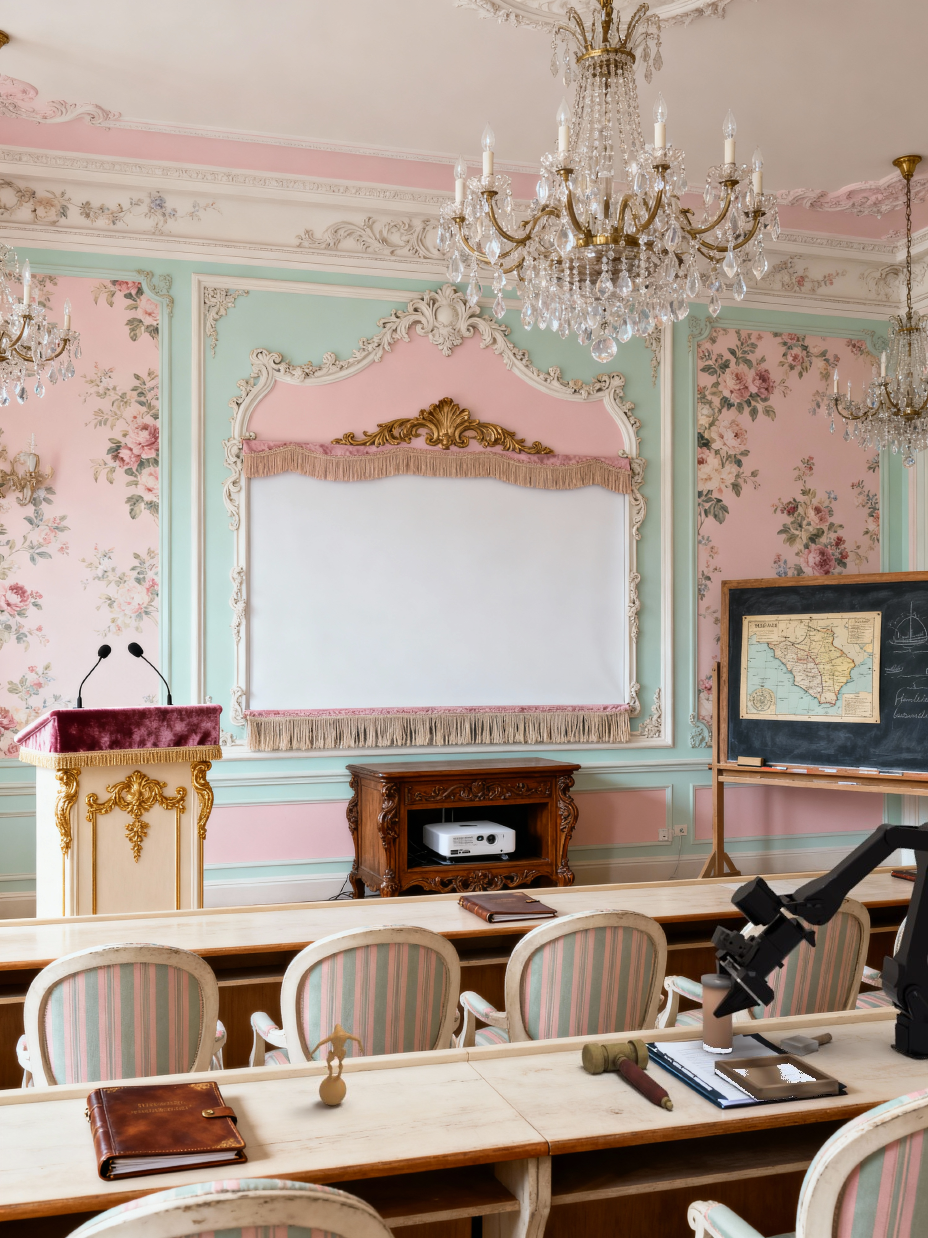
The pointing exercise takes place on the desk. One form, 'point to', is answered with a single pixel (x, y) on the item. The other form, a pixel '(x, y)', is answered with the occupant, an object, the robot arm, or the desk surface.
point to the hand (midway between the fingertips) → (709, 1009)
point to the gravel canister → (713, 992)
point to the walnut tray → (776, 1077)
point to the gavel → (626, 1066)
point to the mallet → (804, 1043)
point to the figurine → (334, 1086)
